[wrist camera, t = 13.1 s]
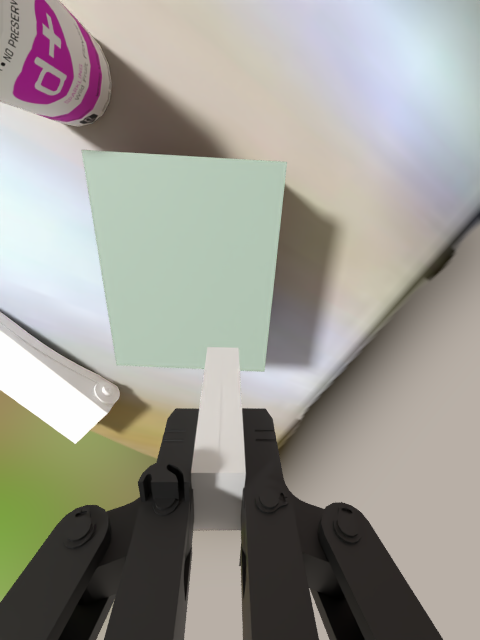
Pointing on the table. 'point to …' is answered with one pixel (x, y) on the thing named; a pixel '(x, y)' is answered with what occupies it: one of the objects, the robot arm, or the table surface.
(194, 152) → the table surface
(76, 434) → the white rectangular bar
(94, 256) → the table surface
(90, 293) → the table surface
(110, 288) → the lid
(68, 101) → the supplement can
